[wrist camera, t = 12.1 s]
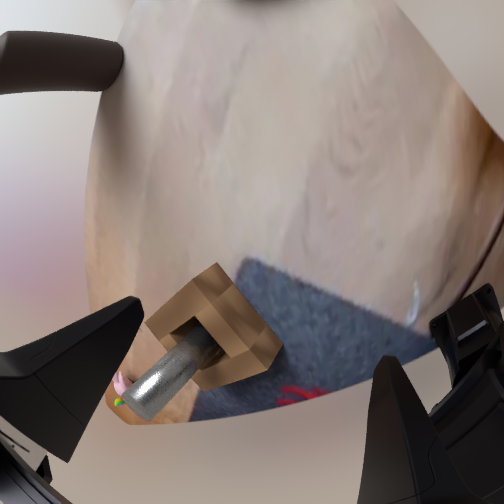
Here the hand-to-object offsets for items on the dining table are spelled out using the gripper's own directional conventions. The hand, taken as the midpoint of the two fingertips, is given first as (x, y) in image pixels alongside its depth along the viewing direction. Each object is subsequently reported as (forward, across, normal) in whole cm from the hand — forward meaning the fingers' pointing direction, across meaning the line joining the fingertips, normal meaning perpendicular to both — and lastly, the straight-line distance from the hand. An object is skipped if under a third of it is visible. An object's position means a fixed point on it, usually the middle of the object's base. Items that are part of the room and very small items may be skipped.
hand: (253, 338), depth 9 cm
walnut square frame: (+12, +6, +14) cm, 20 cm away
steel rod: (+12, +6, +14) cm, 20 cm away
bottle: (+20, +24, -13) cm, 34 cm away
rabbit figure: (+12, +25, +39) cm, 48 cm away
